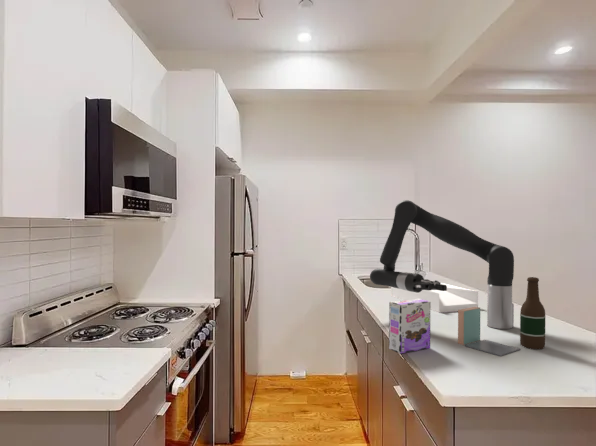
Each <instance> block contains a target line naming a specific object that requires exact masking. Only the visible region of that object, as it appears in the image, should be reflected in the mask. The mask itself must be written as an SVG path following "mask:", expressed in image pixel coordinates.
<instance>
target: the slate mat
mask: <svg viewBox="0 0 596 446" xmlns="http://www.w3.org/2000/svg"><path fill="white" fill-rule="evenodd" d="M464 347H466V348H470V349H473V350H475V351H476V350H477V351H480V352H484V353H488V354H490V355H494V356H498V357H502V356H506V355H508V354H512V353H515V352H518V351H521V348H519V347H516V346H511V345H509V344H504V343H499V342H496V341H492V340H489V339H480V341H476V342H472V343H469V344H465V345H464Z"/></svg>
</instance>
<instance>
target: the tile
mask: <svg viewBox="0 0 596 446" xmlns="http://www.w3.org/2000/svg"><path fill="white" fill-rule="evenodd" d="M457 312H458V313H457V343H458V344H459V345H462V346H465V345H467V344H470V343H474V342H478V341H481V307H479V306H478V307H470V308H465V309H460V310H458V311H457Z"/></svg>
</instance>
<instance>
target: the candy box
mask: <svg viewBox="0 0 596 446" xmlns="http://www.w3.org/2000/svg"><path fill="white" fill-rule="evenodd" d="M388 312H389V313H388V316H389V317H388V319H389V320H388V322H389V325H388V327H389V328H388V349H389V350H391V351H393V352H395V353H397V354H399V355H401V354H406V353H411V352H417V351H422V350H427V349H431V310H430V301H427V300H422V299H413V300H397V301H396V300H395V301H389V311H388Z"/></svg>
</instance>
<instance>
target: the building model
mask: <svg viewBox="0 0 596 446" xmlns="http://www.w3.org/2000/svg"><path fill="white" fill-rule="evenodd" d="M425 279H426V278H424V280H425ZM430 280H431V279H430ZM431 281H433V280H431ZM440 283H441V284H443V285H446V286H447V290H446V291H440V290H422V291H421V292H419V293H416V292H411V291H406V290H402V289H399V288H394V287H391V286H390V296H391V297H393V298H396V299H399V300H400V301H404V300H413V299H422V300H427V301H430V311H433V312H436V313H439V314H442V313H452V312H454V313H455V312H458V310H460V309H465V308H470V307H479V291H478V290H473V289H468V288H465V287H460V286H457V285H454V284H453V285H452V284H448V283H444V282H440Z"/></svg>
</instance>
